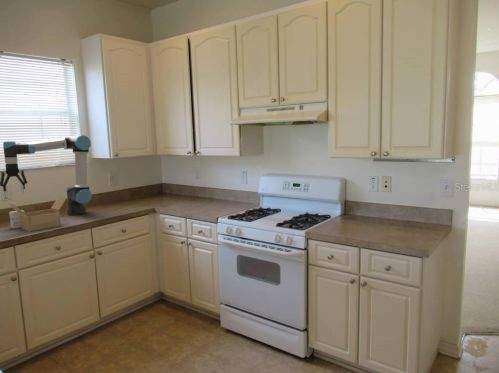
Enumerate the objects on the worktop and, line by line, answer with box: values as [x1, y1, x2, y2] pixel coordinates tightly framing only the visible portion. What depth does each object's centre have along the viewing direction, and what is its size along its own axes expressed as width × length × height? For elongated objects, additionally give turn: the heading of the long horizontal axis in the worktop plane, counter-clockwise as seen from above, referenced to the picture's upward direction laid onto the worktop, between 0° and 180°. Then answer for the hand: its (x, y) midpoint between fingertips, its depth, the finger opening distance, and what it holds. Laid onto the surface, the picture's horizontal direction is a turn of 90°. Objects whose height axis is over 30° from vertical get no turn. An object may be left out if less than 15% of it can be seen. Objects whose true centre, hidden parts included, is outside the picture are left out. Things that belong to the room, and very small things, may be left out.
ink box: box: [8, 209, 26, 230], centre depth 275 cm, size 9×5×12 cm, turn 141°
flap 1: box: [8, 203, 27, 216], centre depth 261 cm, size 1×13×10 cm
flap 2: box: [50, 196, 67, 211], centre depth 282 cm, size 1×13×10 cm
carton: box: [19, 208, 62, 233], centre depth 273 cm, size 21×17×10 cm
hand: (15, 194), depth 272 cm, fingers open, 9 cm apart
